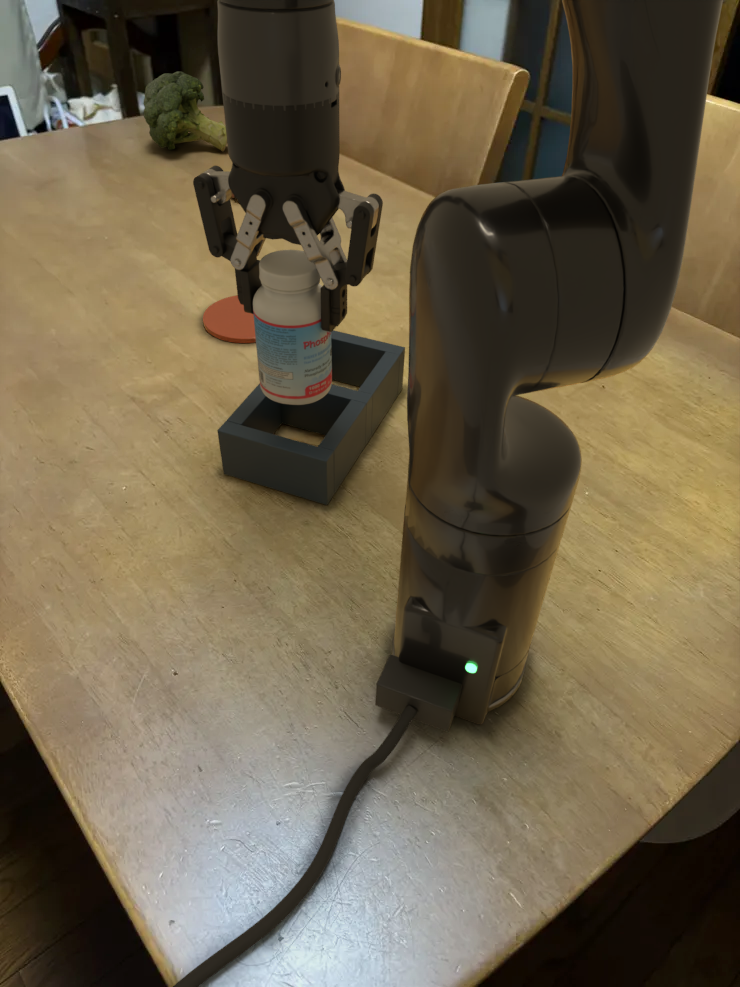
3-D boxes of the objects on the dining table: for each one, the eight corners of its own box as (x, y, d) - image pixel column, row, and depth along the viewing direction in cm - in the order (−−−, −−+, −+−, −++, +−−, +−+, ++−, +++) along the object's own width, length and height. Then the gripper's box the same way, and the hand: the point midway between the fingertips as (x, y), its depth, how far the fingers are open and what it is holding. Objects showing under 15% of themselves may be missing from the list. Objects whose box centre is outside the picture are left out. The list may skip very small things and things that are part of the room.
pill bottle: (322, 412, 61) (319, 285, 54) (250, 402, 62) (237, 275, 54) (339, 372, 66) (338, 249, 58) (272, 363, 66) (262, 241, 59)
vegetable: (214, 155, 119) (124, 104, 115) (210, 189, 131) (129, 143, 128) (247, 92, 120) (159, 39, 117) (240, 131, 133) (161, 84, 129)
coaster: (265, 351, 82) (265, 346, 82) (186, 331, 84) (185, 326, 84) (305, 309, 89) (305, 304, 88) (230, 292, 91) (230, 287, 91)
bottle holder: (327, 505, 65) (326, 461, 61) (223, 474, 67) (216, 430, 64) (402, 388, 77) (405, 347, 74) (312, 366, 80) (311, 324, 77)
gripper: (151, 83, 47) (188, 321, 59) (362, 114, 44) (358, 361, 55) (212, 57, 53) (236, 280, 64) (406, 83, 49) (394, 314, 60)
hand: (292, 317), depth 59 cm, fingers closed on pill bottle, 6 cm apart
